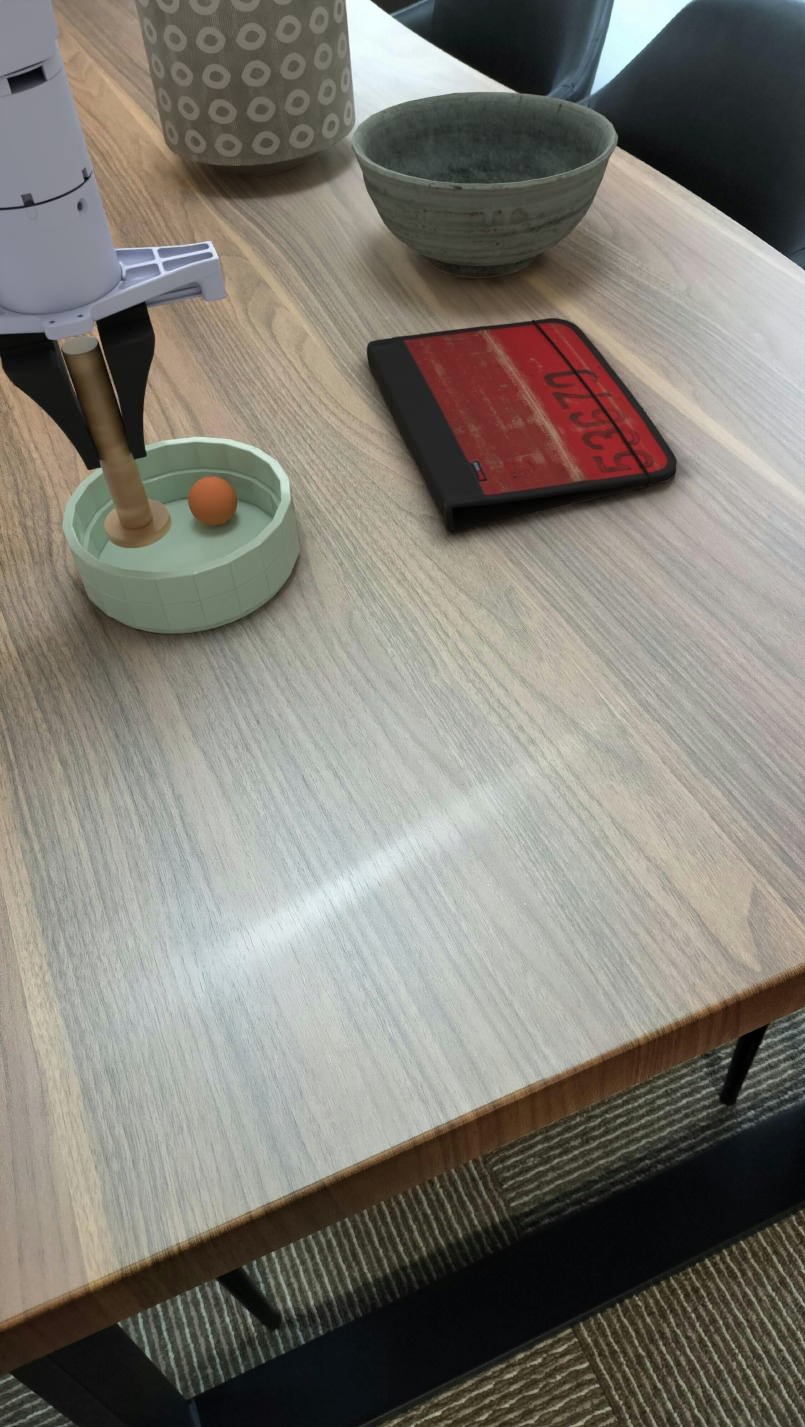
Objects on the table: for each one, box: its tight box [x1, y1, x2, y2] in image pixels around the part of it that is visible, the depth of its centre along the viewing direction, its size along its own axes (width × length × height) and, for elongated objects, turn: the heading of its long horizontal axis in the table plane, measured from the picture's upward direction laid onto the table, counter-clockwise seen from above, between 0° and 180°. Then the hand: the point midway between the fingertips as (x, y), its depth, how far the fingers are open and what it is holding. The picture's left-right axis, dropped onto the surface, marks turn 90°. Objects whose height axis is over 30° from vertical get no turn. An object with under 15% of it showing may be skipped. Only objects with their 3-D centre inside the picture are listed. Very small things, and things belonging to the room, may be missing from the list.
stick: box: [60, 335, 171, 548], centre depth 53 cm, size 4×4×11 cm
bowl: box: [351, 91, 619, 279], centre depth 84 cm, size 21×21×10 cm
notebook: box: [366, 317, 678, 534], centre depth 70 cm, size 16×2×21 cm
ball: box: [188, 476, 237, 526], centre depth 63 cm, size 3×3×3 cm
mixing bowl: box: [61, 436, 301, 635], centre depth 61 cm, size 13×13×4 cm
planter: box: [134, 0, 356, 177], centre depth 97 cm, size 19×19×18 cm
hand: (114, 453), depth 53 cm, fingers closed on stick, 2 cm apart
